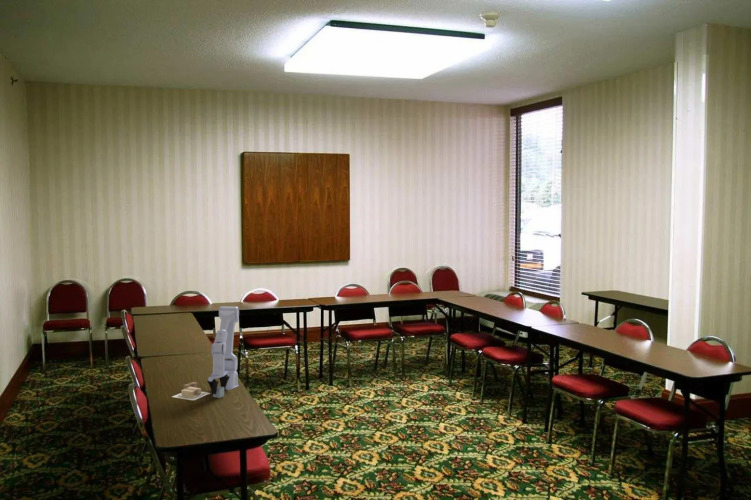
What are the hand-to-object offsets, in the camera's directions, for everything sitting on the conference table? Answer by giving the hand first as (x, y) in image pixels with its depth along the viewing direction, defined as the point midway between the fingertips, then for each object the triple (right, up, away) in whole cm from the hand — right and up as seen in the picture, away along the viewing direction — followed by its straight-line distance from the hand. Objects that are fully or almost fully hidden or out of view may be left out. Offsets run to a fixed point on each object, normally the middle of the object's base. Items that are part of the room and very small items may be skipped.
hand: (218, 391), depth 328 cm
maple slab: (-14, -2, +2) cm, 15 cm away
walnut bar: (-18, -1, +12) cm, 22 cm away
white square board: (-14, -2, +2) cm, 15 cm away
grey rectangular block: (0, -3, 0) cm, 3 cm away
